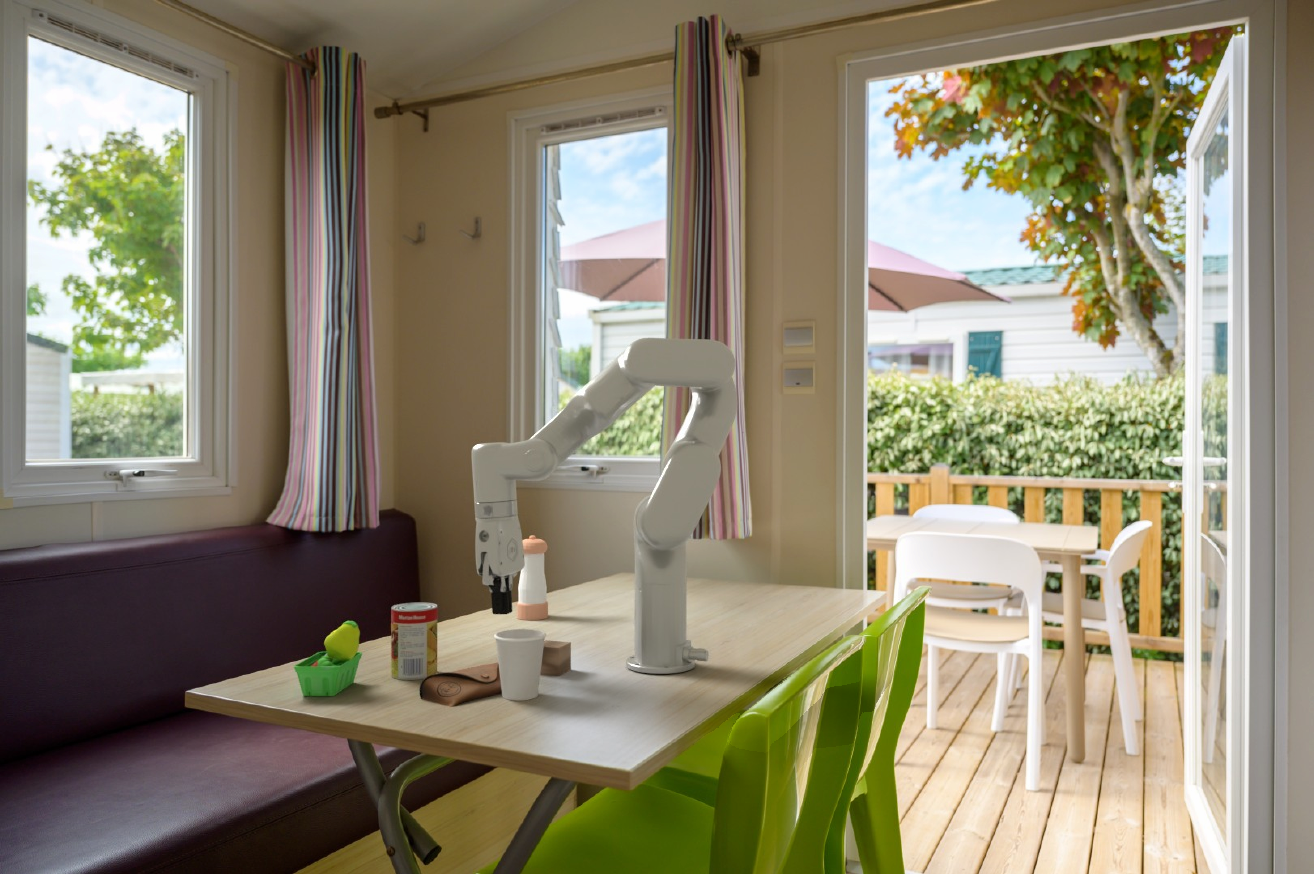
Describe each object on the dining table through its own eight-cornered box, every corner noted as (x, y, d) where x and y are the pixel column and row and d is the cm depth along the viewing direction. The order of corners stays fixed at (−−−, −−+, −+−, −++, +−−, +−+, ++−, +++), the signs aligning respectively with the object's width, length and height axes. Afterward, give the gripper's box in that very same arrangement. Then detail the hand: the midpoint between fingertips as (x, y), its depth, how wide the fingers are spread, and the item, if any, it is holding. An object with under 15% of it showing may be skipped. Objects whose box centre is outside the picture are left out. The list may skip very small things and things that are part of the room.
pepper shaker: (545, 620, 213) (546, 537, 213) (514, 620, 213) (514, 537, 213) (550, 614, 220) (550, 534, 220) (519, 614, 220) (519, 533, 220)
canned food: (435, 667, 168) (435, 601, 168) (439, 677, 161) (439, 608, 161) (390, 670, 166) (390, 603, 166) (392, 681, 158) (392, 611, 158)
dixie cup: (486, 701, 146) (486, 637, 146) (503, 687, 154) (503, 627, 154) (537, 703, 145) (537, 639, 145) (552, 689, 153) (552, 629, 153)
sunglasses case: (450, 707, 142) (437, 666, 144) (427, 722, 146) (414, 682, 148) (538, 684, 156) (525, 647, 158) (515, 699, 160) (502, 663, 162)
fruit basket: (319, 680, 159) (320, 614, 159) (370, 680, 159) (371, 614, 159) (291, 698, 148) (291, 627, 148) (346, 699, 147) (346, 628, 147)
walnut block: (570, 669, 167) (570, 642, 167) (558, 676, 162) (558, 647, 162) (545, 667, 168) (545, 640, 168) (533, 674, 164) (533, 645, 164)
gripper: (493, 514, 158) (500, 622, 158) (534, 506, 172) (540, 605, 172) (455, 516, 160) (462, 621, 160) (498, 508, 174) (504, 605, 174)
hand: (502, 613), depth 166 cm, fingers closed
